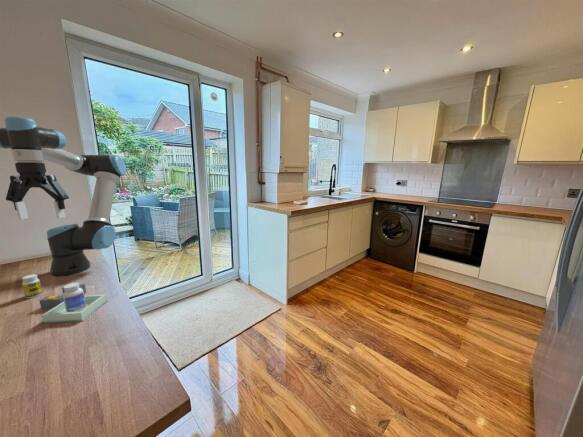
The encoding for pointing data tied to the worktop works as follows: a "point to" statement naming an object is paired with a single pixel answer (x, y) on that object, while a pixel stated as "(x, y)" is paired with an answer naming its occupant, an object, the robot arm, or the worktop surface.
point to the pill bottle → (74, 298)
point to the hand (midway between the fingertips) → (42, 218)
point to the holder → (55, 299)
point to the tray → (61, 315)
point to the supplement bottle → (31, 286)
